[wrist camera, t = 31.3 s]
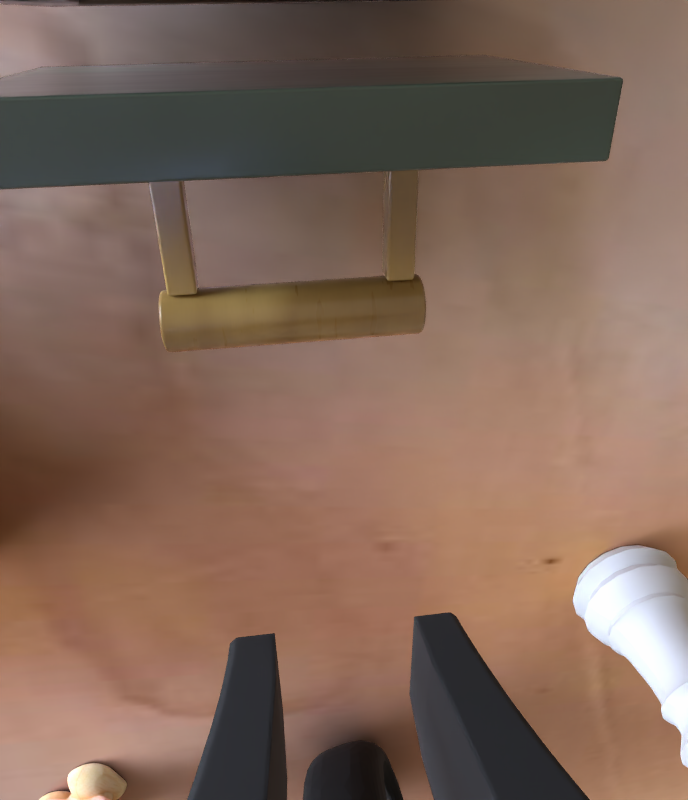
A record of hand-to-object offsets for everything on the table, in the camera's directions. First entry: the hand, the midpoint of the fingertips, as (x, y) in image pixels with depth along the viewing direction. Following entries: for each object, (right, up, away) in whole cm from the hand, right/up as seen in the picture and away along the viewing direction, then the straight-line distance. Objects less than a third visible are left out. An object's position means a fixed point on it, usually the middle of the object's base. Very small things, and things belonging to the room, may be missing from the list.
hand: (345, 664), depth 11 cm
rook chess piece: (+11, -3, +16) cm, 20 cm away
